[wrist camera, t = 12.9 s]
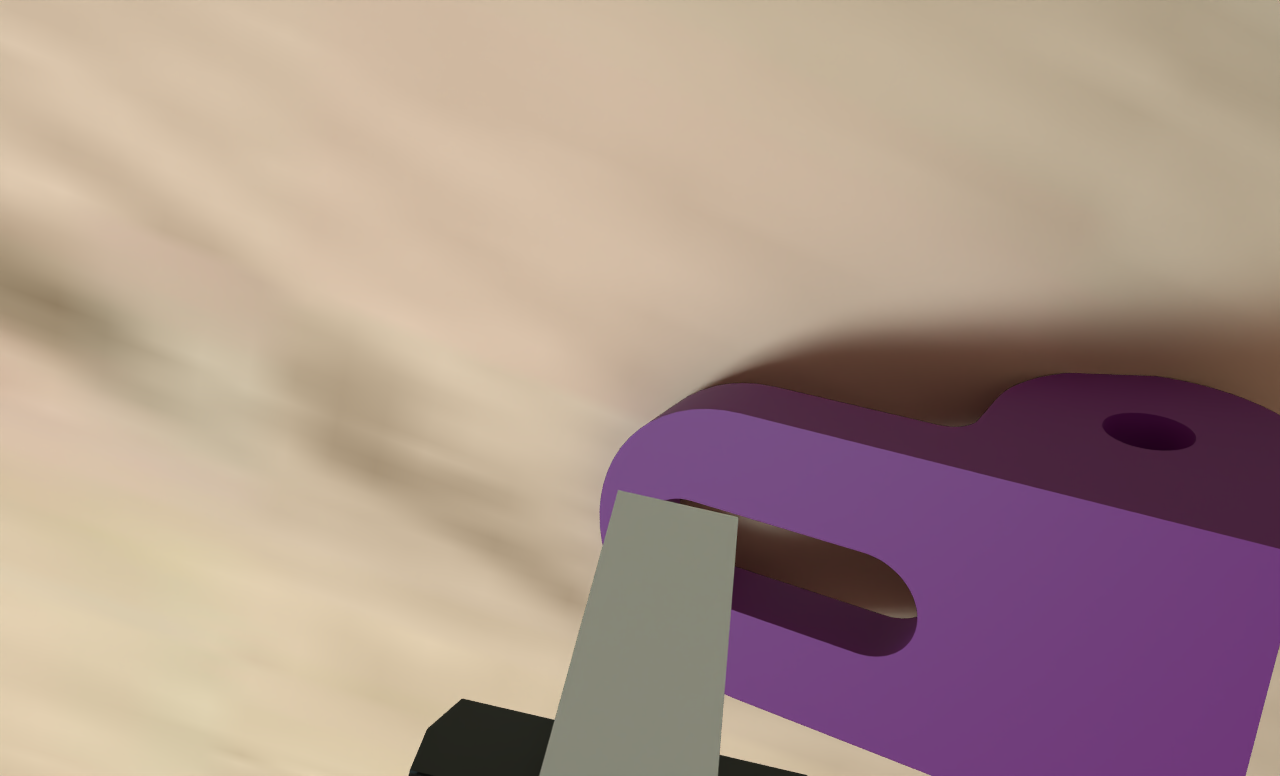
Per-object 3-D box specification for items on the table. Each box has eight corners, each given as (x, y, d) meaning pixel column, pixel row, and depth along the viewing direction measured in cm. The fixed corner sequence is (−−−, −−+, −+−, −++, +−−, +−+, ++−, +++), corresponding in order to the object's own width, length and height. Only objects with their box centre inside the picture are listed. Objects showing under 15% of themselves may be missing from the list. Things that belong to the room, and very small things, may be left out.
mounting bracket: (729, 530, 43) (1260, 697, 34) (603, 646, 37) (1215, 888, 28) (736, 292, 39) (1335, 410, 30) (596, 375, 33) (1305, 555, 24)
